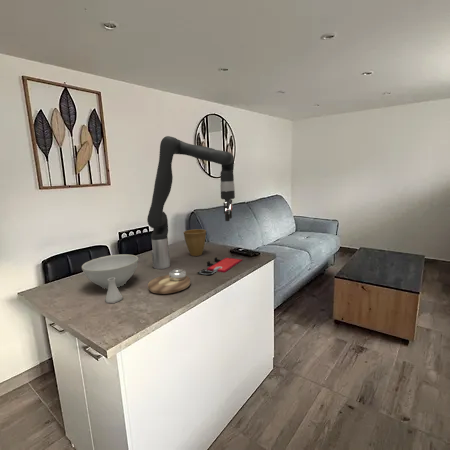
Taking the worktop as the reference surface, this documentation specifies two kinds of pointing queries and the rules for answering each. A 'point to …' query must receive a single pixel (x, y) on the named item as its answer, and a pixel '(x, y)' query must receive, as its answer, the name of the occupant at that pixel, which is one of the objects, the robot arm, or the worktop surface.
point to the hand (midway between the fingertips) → (228, 219)
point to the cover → (177, 275)
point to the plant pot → (195, 241)
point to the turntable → (167, 285)
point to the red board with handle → (220, 265)
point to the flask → (113, 292)
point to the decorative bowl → (110, 269)
